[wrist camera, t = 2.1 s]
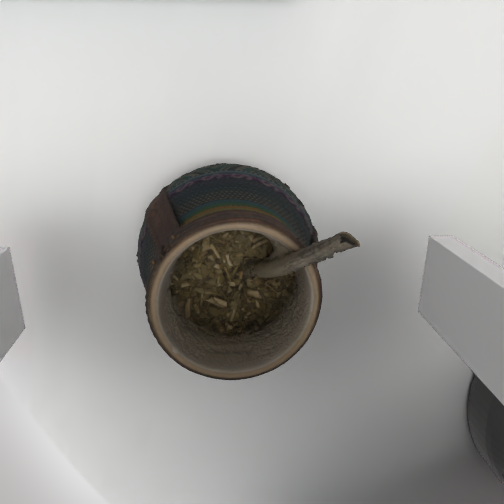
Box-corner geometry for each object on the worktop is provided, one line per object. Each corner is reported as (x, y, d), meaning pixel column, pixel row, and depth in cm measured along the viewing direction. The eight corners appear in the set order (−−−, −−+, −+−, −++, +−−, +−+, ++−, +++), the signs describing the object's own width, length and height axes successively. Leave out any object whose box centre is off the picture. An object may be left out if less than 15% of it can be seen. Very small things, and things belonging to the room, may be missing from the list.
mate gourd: (116, 250, 21) (43, 374, 12) (208, 113, 20) (208, 131, 10) (241, 326, 23) (263, 485, 14) (335, 207, 22) (432, 294, 12)
